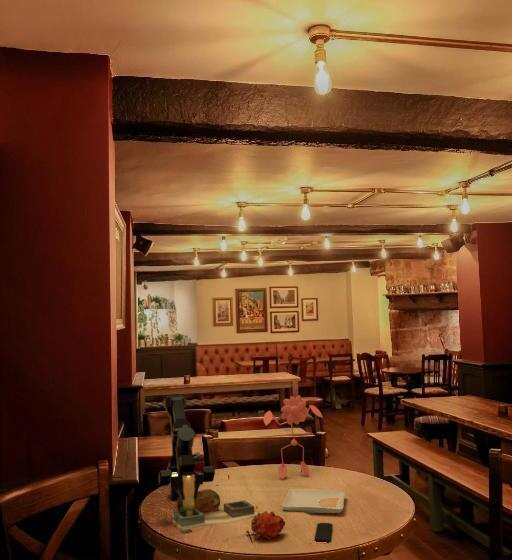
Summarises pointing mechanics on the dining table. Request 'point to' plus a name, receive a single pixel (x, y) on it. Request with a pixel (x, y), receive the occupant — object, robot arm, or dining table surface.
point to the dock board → (214, 516)
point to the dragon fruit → (267, 525)
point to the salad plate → (312, 500)
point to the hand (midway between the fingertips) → (189, 499)
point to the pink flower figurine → (295, 414)
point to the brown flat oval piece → (203, 501)
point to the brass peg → (188, 495)
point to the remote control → (323, 532)
